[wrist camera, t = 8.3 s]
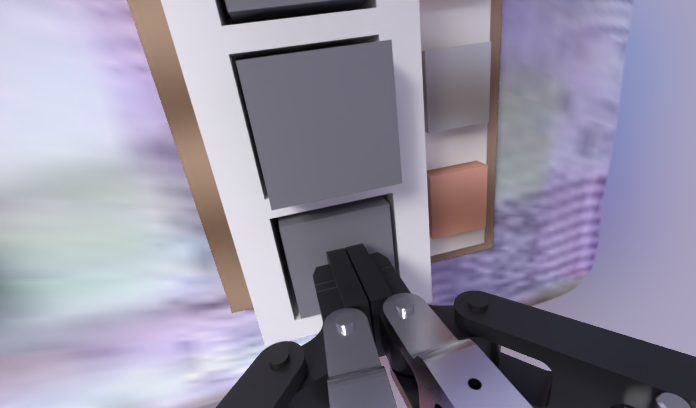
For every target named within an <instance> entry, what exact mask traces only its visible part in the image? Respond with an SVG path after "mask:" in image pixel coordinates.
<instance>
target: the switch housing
mask: <svg viewBox="0 0 696 408" xmlns="http://www.w3.org/2000/svg"><path fill="white" fill-rule="evenodd" d="M161 3H162V7H163V10H164V13H165V16H166V20H167V23H168V26H169V30H170V33H171V36H172V40H173V43H174V46H175V50H176V53H177V56H178V59H179V63H180V66H181V69H182V73H183V76H184V79H185V83H186V86H187V89H188V92H189V96H190V99H191V102H192V106H193V109H194V112H195V116H196V119H197V122H198V126H199V129H200V132H201V135H202V139H203V142H204V145H205V149H206V152H207V155H208V159H209V162H210V165H211V169H212V172H213V175H214V178H215V182H216V185H217V188H218V192H219V195H220V198H221V202H222V205H223V208H224V212H225V215H226V218H227V221H228V225H229V228H230V231H231V235H232V238H233V241H234V245H235V248H236V251H237V255H238V258H239V261H240V264H241V268H242V271H243V274H244V278H245V281H246V284H247V288H248V291H249V294H250V298H251V301H252V304H253V307H254V311H255V314H256V317H257V321H258V324H259V327H260V331H261V334H262V337H263V341H264V344H265V347H268V346H270V345H272V344H275V343H277V342H281V341H291V340H294V339H298V338H302V337H305V336H309V335H313V334H316V333H319V332H320V330H321V328H322V325H323V322H322V317H321V314H317V315H314V316H310V317H306V318H302V319H301V317H300V313H299V309H298V305H297V301H296V296H295V292H294V288H293V284H292V280H291V275H290V272H289V270H288V266H287V262H286V258H285V253H284V249H283V245H282V241H281V237H280V232H279V228H278V224H277V220H276V217H281V216H286V215H290V214H295V213H300V212H305V211H309V210H314V209H319V208H323V207H328V206H333V205H338V204H342V203H347V202H352V201H356V200H361V199H366V198H371V197H375V196H380V195H381V196H382V197H383V198H384V199H385V200H386V201H387V202H388V203H389V206H390V217H391V228H392V238H393V249H394V260H395V270H396V272H397V273H398V274H399V276H400V277H401V279H402V280H403V282H404V283H405V285H406V286H407V288H408V289H409V291H410V292H411V294H415V295H418V296H420V297H421V298H422V299H423V300H424V301H425V302H426V303H430V302H432V282H431V259H430V237H429V214H428V191H427V169H426V146H425V124H424V101H423V78H422V56H421V33H420V11H419V0H364V1H363V2H361V3H360V4H359V5H357V6H356V7H355V8H353V9H352V10H351V11H344V12H335V13H327V14H318V15H310V16H302V17H293V18H285V19H276V20H268V21H260V22H251V23H243V24H234V25H230V23H229V19H228V15H227V11H226V7H225V2H224V0H161ZM384 40H392V52H393V65H394V79H395V92H396V105H397V119H398V132H399V146H400V159H401V172H402V183H401V184H396V185H392V186H387V187H382V188H377V189H372V190H368V191H363V192H358V193H353V194H348V195H344V196H339V197H334V198H329V199H324V200H320V201H315V202H310V203H305V204H300V205H296V206H291V207H286V208H281V209H276V210H271V205H270V201H269V197H268V193H267V189H266V185H265V181H264V177H263V172H262V168H261V164H260V160H259V156H258V152H257V148H256V144H255V139H254V135H253V131H252V127H251V123H250V119H249V115H248V111H247V106H246V102H245V98H244V94H243V90H242V86H241V82H240V78H239V73H238V69H237V65H236V61H237V60H240V59H247V58H255V57H262V56H269V55H277V54H284V53H291V52H299V51H306V50H314V49H321V48H328V47H336V46H343V45H351V44H352V45H355V44H362V43H370V42H377V41H384Z"/></svg>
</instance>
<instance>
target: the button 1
mask: <svg viewBox="0 0 696 408" xmlns="http://www.w3.org/2000/svg"><path fill="white" fill-rule="evenodd" d="M363 1H364V0H225V2H226V6H227V11H228V13H229V15H230V16H231V18H232V20H233V21H234V23H235V24H243V23H251V22H260V21H268V20H276V19H285V18H293V17H302V16H310V15H318V14H327V13H335V12H344V11H351V10H352V9H353V8H355V7H356V6H357V5H359V4H360V3H361V2H363Z"/></svg>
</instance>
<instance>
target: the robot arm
mask: <svg viewBox="0 0 696 408" xmlns="http://www.w3.org/2000/svg"><path fill="white" fill-rule="evenodd" d="M326 255H327V261H328V264H327V265H323V266H319V267H316V269H315V271H314V274H313V280H314V285H315V290H316V294H317V299H318V304H319V309H320V313H321V317H322V322H323V325H322V328H321V330H320V332H319V333H318V335H317V336H316V337H315V338H313V339H312V340H311V341H309V342H308V343H306V344H304V345H302V346H300V345H299V344H297V343H295V342H292V341H281V342H277V343H275V344H272V345H270V346H269V347H267V348H266V349H265V350H263V351H262V352H261V353H260V355H259V356H258V357H257V358H256V359H255V361H254V362H253V363H252V364H251V365H250V367H249V368H248V369H247V370H246V372H245V373H244V374H243V375H242V376H241V378H240V379H239V380H238V381H237V383H236V384H235V385H234V386H233V387H232V389H231V390H230V391H229V392H228V393H227V395H226V396H225V397H224V398H223V400H222V401H221V402H220V403H219V404H218V406H217V407H216V408H397V405H396V402H395V399H394V396H393V392H392V389H391V386H390V383H389V380H388V376H387V373H386V370H385V368H384V366H381V363H380V360H379V357H380V356H384V355H386V356H387V358H388V360H389V365H390V373H391V376H392V378H393V380H394V382H395V384H396V386H397V388H398V390H399V392H400V394H401V396H402V398H403V400H404V402H405V404H406V406H407V408H696V357H694V356H691V355H688V354H685V353H681V352H678V351H675V350H671V349H668V348H665V347H662V346H659V345H655V344H652V343H648V342H645V341H642V340H639V339H636V338H632V337H629V336H626V335H622V334H619V333H616V332H613V331H609V330H606V329H603V328H600V327H596V326H593V325H590V324H587V323H583V322H580V321H577V320H574V319H570V318H567V317H564V316H560V315H557V314H554V313H551V312H547V311H544V310H540V309H538V308H534V307H531V306H528V305H525V304H521V303H518V302H515V301H512V300H508V299H505V298H502V297H498V296H495V295H492V294H489V293H485V292H481V291H467V292H464V293H461V294H460V295H458V296H457V297H456V299H455V301H454V305H453V306H433V305H428V304H427V303H426V302H425V301H424V300H423V299H422V298H421V297H420V296H418V295H415V294H411V292H410V291H409V289H408V288H407V286H406V285H405V283H404V282H403V280H402V279H401V277H400V276H399V274H398V273H397V272H396V270H395V268H394V267H393V266H392V264H391V262H390V261H389V259H388V258H387V257H386V256H384V255H382V254H381V253H379V252H376V253H372V254H369V253H368V251H367V250H366V248H365V246H364V245H363V243H361V244H357V245H353V246H349V247H345V249H344V248H340V249H336V250H332V251H328V252H326ZM501 346H504V347H506V348H509V349H512V350H514V351H517V352H519V353H522V354H524V355H527V356H529V357H532V358H535V359H537V360H540V361H542V362H543V363H545V364H546V365H547V366H548V367H549V368H550V369H551V370H552V371H546V370H544V369H541V368H539V367H536V366H534V365H531V364H529V363H526V362H523V361H521V360H519V359H516V358H514V357H511V356H509V355H506V354H504V353H501V352H500V349H501Z"/></svg>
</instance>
